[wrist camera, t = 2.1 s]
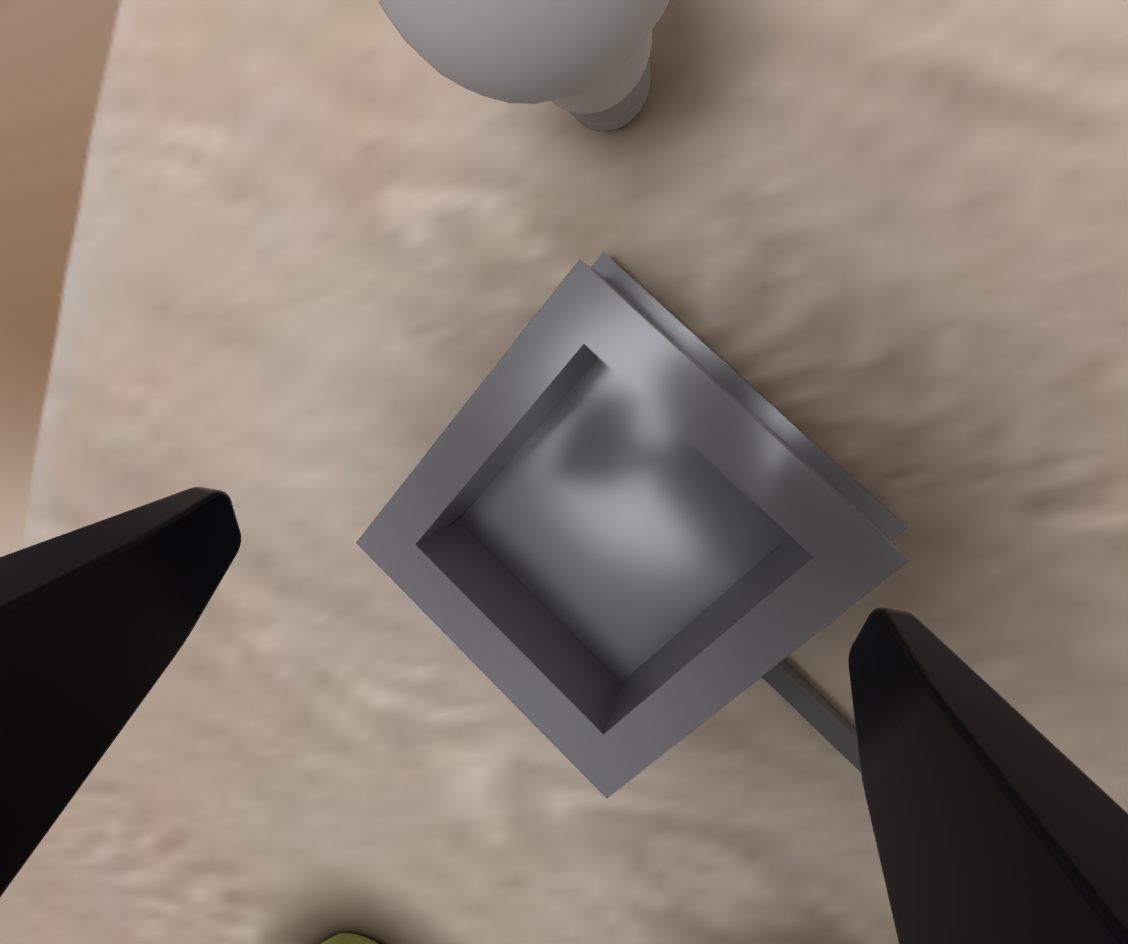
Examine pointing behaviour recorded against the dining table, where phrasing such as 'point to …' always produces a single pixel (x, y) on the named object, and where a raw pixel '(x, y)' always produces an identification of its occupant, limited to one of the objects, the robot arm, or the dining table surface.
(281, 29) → the dining table surface
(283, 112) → the dining table surface
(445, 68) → the lightbulb
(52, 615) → the robot arm
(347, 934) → the plant pot
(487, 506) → the grey square pan
